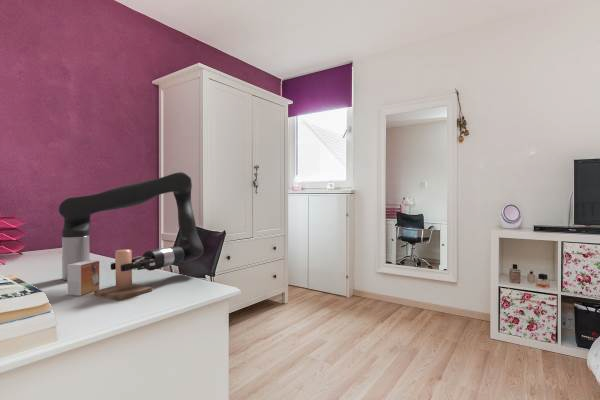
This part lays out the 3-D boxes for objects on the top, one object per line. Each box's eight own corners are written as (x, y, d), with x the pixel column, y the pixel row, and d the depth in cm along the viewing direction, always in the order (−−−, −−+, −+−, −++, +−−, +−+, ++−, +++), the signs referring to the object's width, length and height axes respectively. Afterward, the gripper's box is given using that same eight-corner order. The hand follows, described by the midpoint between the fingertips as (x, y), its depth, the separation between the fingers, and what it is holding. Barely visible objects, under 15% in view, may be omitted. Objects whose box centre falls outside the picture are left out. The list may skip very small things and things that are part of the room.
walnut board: (94, 294, 110) (94, 291, 110) (127, 285, 121) (127, 282, 121) (119, 300, 104) (119, 296, 104) (152, 290, 114) (152, 287, 114)
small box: (81, 296, 108) (80, 265, 108) (67, 295, 110) (66, 264, 109) (100, 289, 116) (99, 260, 116) (87, 288, 117) (86, 259, 117)
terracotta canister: (112, 285, 111) (111, 251, 111) (126, 282, 116) (125, 248, 115) (121, 287, 109) (121, 252, 109) (135, 284, 113) (134, 249, 113)
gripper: (146, 247, 128) (103, 255, 113) (171, 250, 121) (129, 258, 106) (146, 266, 128) (103, 276, 113) (172, 270, 122) (129, 281, 106)
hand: (116, 267), depth 110 cm, fingers closed on terracotta canister, 5 cm apart
